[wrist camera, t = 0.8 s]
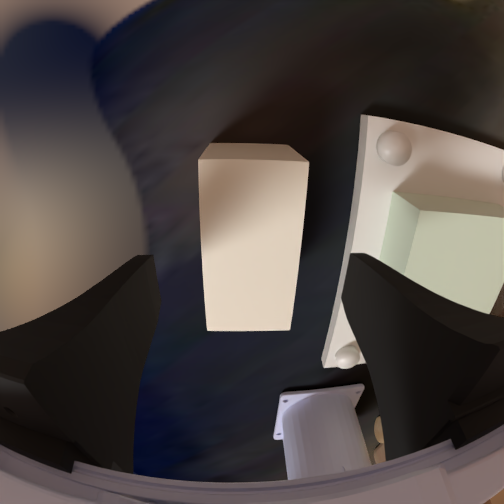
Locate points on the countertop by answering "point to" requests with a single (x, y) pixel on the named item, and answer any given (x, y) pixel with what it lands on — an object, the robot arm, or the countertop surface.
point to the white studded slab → (424, 218)
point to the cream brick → (251, 233)
